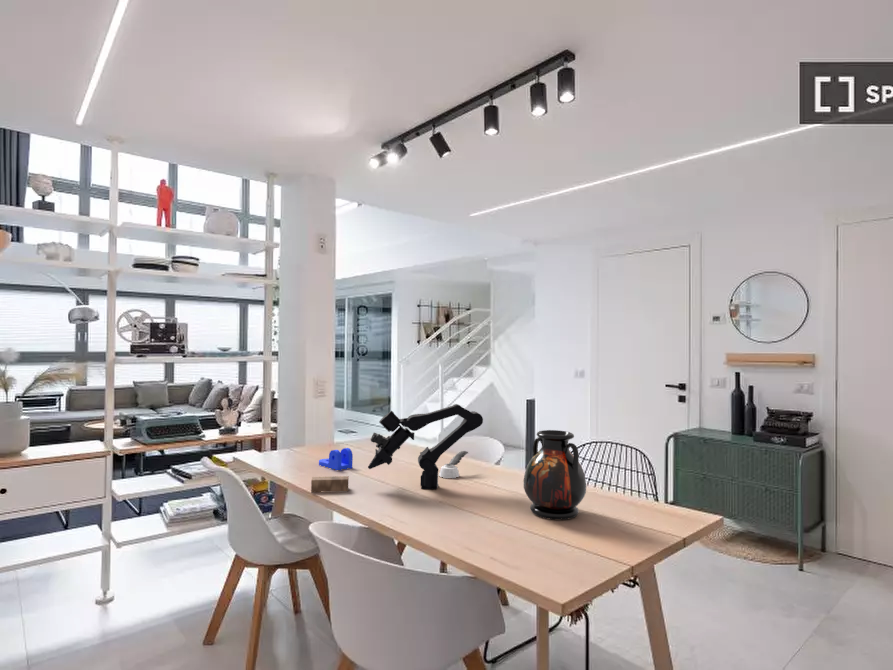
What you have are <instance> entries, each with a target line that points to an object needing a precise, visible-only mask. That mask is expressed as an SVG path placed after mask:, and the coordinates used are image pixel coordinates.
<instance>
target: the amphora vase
mask: <svg viewBox="0 0 893 670" xmlns="http://www.w3.org/2000/svg"><path fill="white" fill-rule="evenodd" d="M536 436H537V437H536V438H535V439H534V440H533V445H532V458H530V460H529V462H528V464H527V465H526V468H525V472H524V475H523V481H522V482H523V490H524V492H525V495H526V496H527V498H528V499H529V500H530V502H531V504H530V507H529V508H530V511H531V512H532V514H534V515H536V516H537V515H538V517H540V516H541V517H540V518H543V517H544V519H547V518H550V519H549V520H555V519H564V520H569V519H568V518H571V519H573V518H575V517H576V516H577V515H578V514H579V509H578V507H577V506H578V505H579V504H580V503H581V502H582V501H583V499H584V498H585V496H586V493H587V481H586V475H585V472H584V468H583V466H582V465H581V463H580V458H579V457H580V456H579V450H578V447H577V445H576V444H575V443H573V442H569V441H570V440H572V439H574V437H575V435H574V433H573V432H570V431H566V430H565V431H564V430H558V429H557V430H555V429H548V430H547V429H546V430H545V429H544V430H543V429H542V430H539V431H537V432H536ZM539 442H540V444H541V447H540V449H539V451H538V448H539V447H538V446H539ZM570 448H571V450H572V452H571V450H570Z"/></svg>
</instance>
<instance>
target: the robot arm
mask: <svg viewBox="0 0 893 670" xmlns="http://www.w3.org/2000/svg"><path fill="white" fill-rule="evenodd" d="M454 416H458V417H461V418H462V419H463V420H462V421H461V422H460V424H459V425H458V426H457V427H456V428H455V429H454V430H452V431H451V432H450V433H449V434H448V435H447V436H445V437H444V438H443V439H442V440H441V441H439V443H437V444H436V445H434V446H433V447H432V448H429V446H426V447H425V448H424V450H422V451H420V452H419V455H418V458H417V463H418V465H419V467H420V468H421V469H422V471H421V475H420V483H419V484H420V490H423V489H424V490H438V487H439V486H440V485H439V471H440V470H439V467H438V466H437V464H436V463H437V462H438V460H439V458H440V457H441V455H443V454H444V453H446V451H448V449H450V448H451V447H452V446H453V445H454V444H456V443H457V442H458V441H460V439H462V438H463V437H464V436H465V435H466V434H467V433H470V432H471V431H474V430H476V429H478V428H479V427H481V426H482V425H483V423H484V418H483V416H482V414H480V413H479V412H477V411H476V410H475V411H473V410H471V411H470V410H468V409H466V408H464V407H463V406H461V405H460V404H457V403H455V404H453V405H451V406H447V407H443V408H440V409H437V410H434V411H431V412H426V413H417V414H410V415H408V416H407V417H406V418H405V417H404V418H399V417H398V416H397V415H396V414H395V413H394V411H392V410H390V411H389V412H387V413H386V414H384V415H383V417H382V418H380V420H379V424H380V425H382V427H383V428H384V429H385V430H386V431H387V432H389V433H390V432H391V433H392V434H391V435H388V436H387V437H385V436H383V434H380V433H377V432H373V433H372V436H371V438H370V442H371V443H373V444H374V443H375V444H376V445H375V447H376V448H375V452H374V457H373V458H372V460H371V461H370V463H369V465H368V466H367V468H368V469H369V470H371V469H374V468H376V467H380V466H381V465H384V464H387V465H388V466H389V465H391V463H393V455H394V453H396V452H397V450H400V449H401V447H402V445H404V443H406V442H407V440H408V439H409V438H410V439H411V440H413V441H414V440H415V432H416V431H419V430H420V429H422V428H425V427H427V425H429V424H432V423H434V422H438V421H441V420H444V419H447V418H451V417H454ZM410 430H411V431H412V432H411V431H410ZM377 448H378V449H377Z"/></svg>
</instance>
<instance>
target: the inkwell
mask: <svg viewBox="0 0 893 670" xmlns="http://www.w3.org/2000/svg"><path fill="white" fill-rule="evenodd" d="M467 454H469V451H468V450H467V451H466V450H461V451H459V452H457V453H456V454H455V455H454V456H453V457H452V458H451V459H450V461H449V463H445V464H443V465H442V466H441V467H440V470H439V472H438V477H439V476H440V477H439V478H441V477H443V478H442V479H448V478H452V479H457V478H456V477H458V478H459V477H460V473H459V469H458V466H456V465H459V463H461V461H462V459H463V458H464V457H465V456H466V455H467Z"/></svg>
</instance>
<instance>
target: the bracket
mask: <svg viewBox="0 0 893 670" xmlns="http://www.w3.org/2000/svg"><path fill="white" fill-rule="evenodd" d="M353 455H354V454H353V451H352V450H351V448H349V447H345V448H342V449H341V450H339V449H331V450H330V451H329V455H328V458H322V459H319V460H318V466H320V465H321V466H320V467H323V466H325V467H324V468H326V467H328V468H327V469H329V468H332V469H331V470H333V469H335V470H334V471H336V470H340V471H342V470H341V469H345V470H348V469H347V468H350V469H353V462H354V461H353V460H354V459H353Z"/></svg>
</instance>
